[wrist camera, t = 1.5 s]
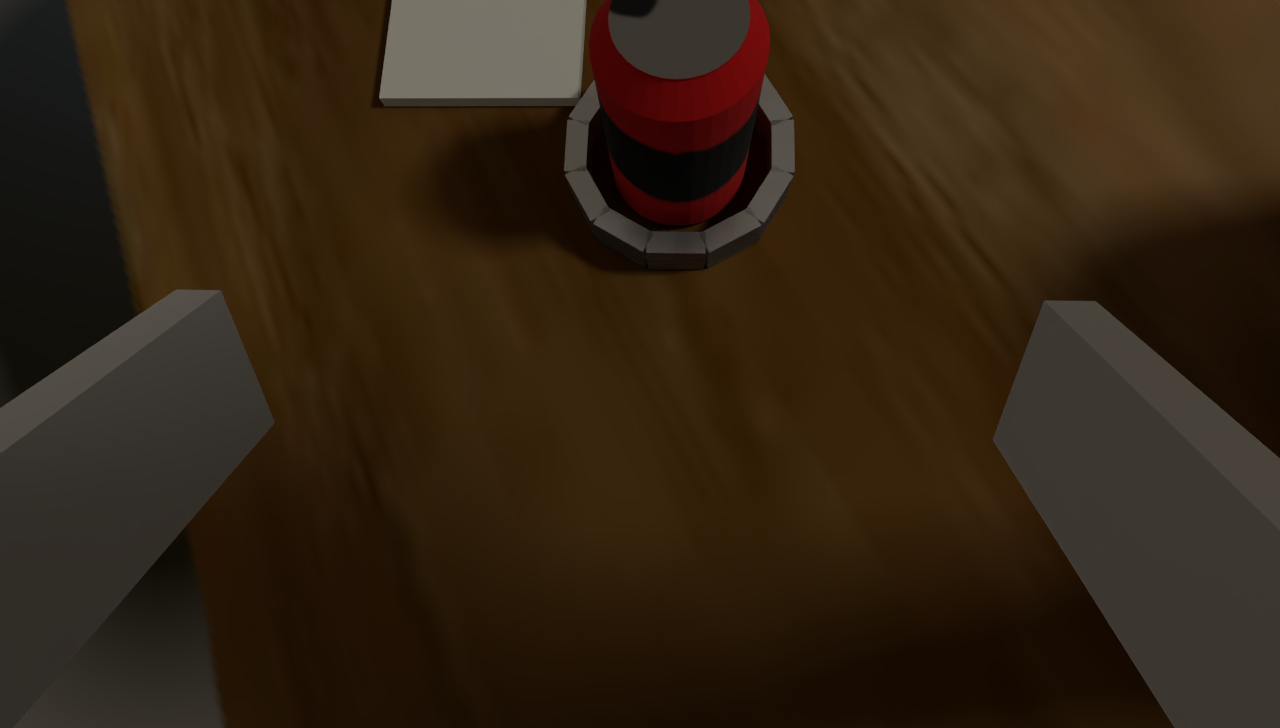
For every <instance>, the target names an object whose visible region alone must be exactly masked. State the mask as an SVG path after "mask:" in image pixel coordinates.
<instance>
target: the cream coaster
mask: <svg viewBox="0 0 1280 728" xmlns="http://www.w3.org/2000/svg"><path fill="white" fill-rule="evenodd" d="M585 16H586V0H392V5H391V13H390V20H389V28H388V35H387V43H386V50H385V58H384V65H383V73H382V80H381V88H380V95H379V99H380V100H381V102H382V103H383V104H384V106H576V105H577V104H578V102H579V101H580V96H581V80H582V64H583V48H584V32H585Z"/></svg>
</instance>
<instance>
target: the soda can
mask: <svg viewBox="0 0 1280 728" xmlns="http://www.w3.org/2000/svg"><path fill="white" fill-rule="evenodd" d="M769 46H770V34H769V25H768V22H767V19H766V16H765V13H764V11H763V9H762V7H761V5H760V4H759V2H758V1H757V0H605V1H604V2H603V4H602V5H601V7H600V8H599V10H598V11H597V14H596V16H595V19H594V21H593V24H592V27H591V33H590V39H589V50H590V60H591V65H592V70H593V75H594V80H595V85H596V90H597V95H598V100H599V105H600V110H601V115H602V120H603V125H604V130H605V135H606V140H607V145H608V150H609V155H610V160H611V165H612V170H613V175H614V179H615V182H616V186H617V188H618V190H619V192H620V194H621V196H622V198H623V199H624V200H625V201H626V203H627V204H628V205H629V206H630V207H631V208H632V209H633V210H634V211H636V212H637V213H638V214H639V215H641V216H643V217H645V218H647V219H649V220H651V221H653V222H657V223H660V224H663V225H672V226H683V225H692V224H695V223H699V222H703V221H705V220H707V219H709V218H711V217H713V216H715V215H716V214H718V213H719V212H720V211H722V210H723V209H724V208H726V206H727V205H728V204H729V203H730V202H731V201H732V200H733V199H734V197H735V195H736V194H737V192H738V190H739V189H740V186H741V183H742V180H743V177H744V173H745V168H746V163H747V158H748V153H749V148H750V144H751V139H752V134H753V129H754V124H755V119H756V114H757V109H758V104H759V99H760V95H761V90H762V85H763V80H764V75H765V70H766V65H767V60H768V55H769Z"/></svg>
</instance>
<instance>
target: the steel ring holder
mask: <svg viewBox="0 0 1280 728" xmlns="http://www.w3.org/2000/svg"><path fill="white" fill-rule="evenodd" d="M792 117H793V116H792V114H791V113H790V111H789V110H788V108H787V107H786V105H785V104H784V102H783V101H782V99H781V98H780V96H779V95H778V93H777V92H776V90H775V89H774V87H773V86H772V84H771V83H770V81H769V80H768V78H767V77H766V75H764V80H763V85H762V90H761V95H760V99H759V104H758V109H757V114H756V119H755V124H754V130H755V131H756V133H757V134H758V136H759V137H760V139H761V140H762V142H763V144H764V145H765V147H766V178H765V180H764V182H763V183H762V185H761V186H760V188H759V190H758V191H757V193H756V194H755V196H754V197H753V199H752V201H751V202H750V204H749V205H748V207H747V209H745V210H743V211H741V212H739V213H737V214H735V215H733V216H731V217H730V218H728V219H726V220H724V221H722V222H720V223H718V224H716V225H714V226H712V227H710V228H709V229H707V230H705V231H703V232H657V231H649V230H648V229H646V228H644V227H642V226H640V225H639V224H637V223H635V222H633V221H632V220H630V219H628V218H626V217H624V216H623V215H621V214H619V213H617V212H616V211H614V210H612V209H610V208H609V207H608V206H607V204H606V202H605V200H604V199H603V197H602V195H601V193H600V192H599V190H598V188H597V186H596V184H595V183H594V181H593V179H592V177H593V159H594V146H595V145H596V143H597V142H598V140H599V139H600V137H601V136H602V134H603V133H604V132H605V130H604V125H603V120H602V115H601V110H600V105H599V100H598V95H597V90H596V85H595V80H594V81H593V82H592V84H591V85H590V87H589V88H588V89H587V91H586V92H585V94H584V95H583V97H582V98H581V99H580V101H579V102H578V104H577V105H576V107H575V108H574V109H573V111H572V112H571V114H570V115H569V120H567V133H566V148H565V163H564V173H565V177H566V180H567V182H568V185H569V188H570V191H571V194H572V196H573V198H574V200H575V202H576V203H577V205H578V207H579V209H580V211H581V212H582V214H583V216H584V218H585V220H586V221H587V223H588V225H589V227H590V229H591V230H592V232H593V234H594V236H595V238H596V239H597V238H598V241H599V242H601V243H602V244H604V245H606V246H608V247H609V248H611V249H613V250H615V251H616V252H618V253H620V254H622V255H623V256H625V257H627V258H629V259H630V260H632V261H634V262H635V263H637V264H639V265H641V266H642V267H644V268H645V266H646V265H647V263H648V269H699V270H704V264H705V265H706V267H707V269H708V268H710V267H712V266H713V265H715V264H717V263H719V262H721V261H723V260H725V259H727V258H729V257H731V256H732V255H734V254H736V253H738V252H740V251H742V250H744V249H746V248H748V247H750V246H751V245H753V244H755V243H756V241H757V240H758V241H759V239H760V238H761V236H762V234H763V233H764V231H765V230H766V228H767V226H768V225H769V223H770V222H771V220H772V218H773V217H774V215H775V214H776V212H777V210H778V209H779V207H780V206H781V204H782V202H783V201H784V199H785V198H786V196H787V193H788V190H789V187H790V184H791V182H792V179H793V175H794V173H795V163H794V120H792Z"/></svg>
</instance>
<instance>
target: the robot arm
mask: <svg viewBox="0 0 1280 728" xmlns="http://www.w3.org/2000/svg"><path fill="white" fill-rule="evenodd" d="M274 423H275V421H274V419H273V416H272V414H271V412H270V409H269V407H268V404H267V402H266V399H265V397H264V395H263V392H262V390H261V387H260V385H259V382H258V380H257V378H256V375H255V373H254V370H253V368H252V365H251V363H250V361H249V358H248V356H247V353H246V351H245V348H244V346H243V343H242V341H241V339H240V336H239V334H238V331H237V329H236V326H235V324H234V322H233V319H232V317H231V314H230V312H229V309H228V307H227V305H226V302H225V300H224V297H223V295H222V292H221V290H175V291H173V292H172V293H170V294H169V295H167V296H166V297H165V298H163V299H162V300H160V301H159V302H157V303H156V304H154V305H153V306H151V307H150V308H148V309H147V310H145V311H144V312H142V313H141V314H139V315H138V316H136V317H135V318H133V319H132V320H131V321H129V322H127V323H126V324H124V325H123V326H122V327H120V328H119V329H117V330H116V331H114V332H113V333H111V334H110V335H108V336H107V337H105V338H104V339H102V340H101V341H99V342H98V343H97V344H95V345H93V346H92V347H90V348H89V349H88V350H86V351H85V352H83V353H81V354H80V355H79V356H77V357H76V358H74V359H73V360H71V361H70V362H68V363H67V364H65V365H64V366H62V367H61V368H59V369H58V370H56V371H55V372H53V373H52V374H50V375H49V376H47V377H46V378H44V379H43V380H41V381H40V382H39V383H37V384H36V385H34V386H33V387H31V388H30V389H28V390H27V391H25V392H24V393H22V394H21V395H20V396H18V397H16V398H15V399H13V400H12V401H10V402H9V403H7V404H6V405H5V406H3V407H1V408H0V728H13V727H14V725H15V724H16V723H17V722H18V721H19V720H20V719H21V717H22V716H23V715H24V714H25V712H27V710H28V709H29V708H30V707H31V706H32V705H33V703H34V702H35V701H36V700H37V699H38V697H39V696H40V695H41V694H42V693H43V692H44V691H45V690H46V688H47V687H48V686H49V685H50V684H51V683H52V681H53V680H54V679H55V678H56V677H57V675H58V674H59V673H60V672H61V671H62V670H63V669H64V667H65V666H66V665H67V664H68V663H69V662H70V660H71V659H72V658H73V657H74V656H75V655H76V653H77V652H78V651H79V650H80V649H81V648H82V646H83V645H84V644H85V643H86V642H87V641H88V639H89V638H90V637H91V636H92V635H93V634H94V632H95V631H96V630H97V629H98V628H99V627H100V626H101V624H102V623H103V622H104V621H105V620H106V619H107V617H108V616H109V615H110V614H111V613H112V612H113V610H114V609H115V608H116V607H117V606H118V605H119V603H120V602H121V601H122V599H124V598H125V596H126V595H127V594H128V593H129V592H130V591H131V589H132V588H133V587H134V586H135V585H136V583H137V582H138V581H139V580H140V579H141V578H142V577H143V575H144V574H145V573H146V572H147V571H148V570H149V568H150V567H151V566H152V565H153V564H154V563H155V562H156V560H157V559H158V558H159V557H160V556H161V555H162V553H163V552H164V551H165V550H166V548H168V546H169V545H170V544H171V543H172V542H173V541H174V539H175V538H176V537H177V536H178V535H179V534H180V532H181V531H182V530H183V529H184V528H185V527H186V525H187V524H188V523H189V522H190V521H191V520H192V518H193V517H194V516H195V515H196V514H197V513H198V511H199V510H200V509H201V508H202V507H203V506H204V505H205V503H206V502H207V501H208V500H209V499H210V498H211V496H212V495H213V494H214V493H215V492H216V491H217V489H218V488H219V487H220V486H221V485H222V484H223V482H224V481H225V480H226V479H227V478H228V477H229V475H230V474H231V473H232V472H233V471H234V470H235V468H236V467H237V466H238V465H239V464H240V463H241V461H242V460H243V459H244V458H245V457H246V456H247V454H248V453H249V452H250V451H251V450H252V449H253V447H254V446H255V445H256V444H257V443H258V442H259V441H260V439H261V438H262V437H263V436H264V435H265V434H266V432H267V431H268V430H269V429H270V428H271V427H272V425H273V424H274ZM993 441H994V443H995V444H996V446H997V447H998V449H999V450H1000V452H1001V454H1002V455H1003V457H1004V458H1005V460H1006V462H1007V463H1008V465H1009V466H1010V468H1011V469H1012V471H1013V473H1014V474H1015V476H1016V477H1017V479H1018V481H1019V482H1020V484H1021V485H1022V487H1023V489H1024V490H1025V492H1026V493H1027V495H1028V496H1029V498H1030V500H1031V501H1032V503H1033V504H1034V506H1035V508H1036V509H1037V511H1038V512H1039V514H1040V515H1041V517H1042V519H1043V520H1044V522H1045V523H1046V525H1047V527H1048V528H1049V530H1050V531H1051V533H1052V534H1053V536H1054V538H1055V539H1056V541H1057V542H1058V544H1059V546H1060V547H1061V549H1062V550H1063V552H1064V554H1065V555H1066V557H1067V558H1068V560H1069V561H1070V563H1071V565H1072V566H1073V568H1074V569H1075V571H1076V573H1077V574H1078V576H1079V577H1080V579H1081V580H1082V582H1083V584H1084V585H1085V587H1086V588H1087V590H1088V592H1089V593H1090V595H1091V596H1092V598H1093V599H1094V601H1095V603H1096V604H1097V606H1098V607H1099V609H1100V611H1101V612H1102V614H1103V615H1104V617H1105V619H1106V620H1107V622H1108V623H1109V625H1110V626H1111V628H1112V630H1113V631H1114V633H1115V634H1116V636H1117V638H1118V639H1119V641H1120V642H1121V644H1122V645H1123V647H1124V649H1125V650H1126V652H1127V653H1128V655H1129V657H1130V658H1131V660H1132V661H1133V663H1134V664H1135V666H1136V668H1137V669H1138V671H1139V672H1140V674H1141V676H1142V677H1143V679H1144V680H1145V682H1146V684H1147V685H1148V687H1149V688H1150V690H1151V691H1152V693H1153V695H1154V696H1155V698H1156V699H1157V701H1158V703H1159V704H1160V706H1161V707H1162V709H1163V710H1164V712H1165V714H1166V715H1167V717H1168V718H1169V720H1170V722H1171V723H1172V725H1173V726H1174V728H1280V458H1279V457H1278V456H1276V455H1275V454H1274V453H1273V452H1272V451H1271V450H1269V449H1268V448H1267V447H1266V446H1265V445H1264V444H1262V443H1261V442H1260V441H1259V440H1258V439H1257V438H1255V437H1254V436H1253V435H1252V434H1251V433H1249V432H1248V431H1247V430H1246V429H1245V428H1244V427H1242V426H1241V425H1240V424H1239V423H1238V422H1237V421H1235V420H1234V419H1233V418H1232V417H1231V416H1230V415H1228V414H1227V413H1226V412H1225V411H1224V410H1223V409H1221V408H1220V407H1219V406H1218V405H1217V404H1216V403H1214V402H1213V401H1212V400H1211V399H1210V398H1209V397H1207V396H1206V395H1205V394H1204V393H1203V392H1202V391H1200V390H1199V389H1198V388H1197V387H1196V386H1194V385H1193V384H1192V383H1191V382H1190V381H1189V380H1187V379H1186V378H1185V377H1184V376H1183V375H1182V374H1180V373H1179V372H1178V371H1177V370H1176V369H1175V368H1173V367H1172V366H1171V365H1170V364H1169V363H1168V362H1166V361H1165V360H1164V359H1163V358H1162V357H1161V356H1159V355H1158V354H1157V353H1156V352H1155V351H1154V350H1152V349H1151V348H1150V347H1149V346H1148V345H1147V344H1145V343H1144V342H1143V341H1142V340H1141V339H1139V338H1138V337H1137V336H1136V335H1135V334H1134V333H1132V332H1131V331H1130V330H1129V329H1128V328H1127V327H1125V326H1124V325H1123V324H1122V323H1121V322H1120V321H1118V320H1117V319H1116V318H1115V317H1114V316H1113V315H1111V314H1110V313H1109V312H1108V311H1107V310H1106V309H1104V308H1103V307H1102V306H1101V305H1100V304H1099V303H1097V302H1096V301H1044V302H1043V305H1042V307H1041V310H1040V313H1039V315H1038V318H1037V321H1036V324H1035V326H1034V329H1033V332H1032V334H1031V337H1030V340H1029V343H1028V345H1027V348H1026V351H1025V353H1024V356H1023V359H1022V362H1021V364H1020V367H1019V370H1018V372H1017V375H1016V378H1015V381H1014V383H1013V386H1012V389H1011V391H1010V394H1009V397H1008V400H1007V402H1006V405H1005V408H1004V410H1003V413H1002V416H1001V419H1000V421H999V424H998V427H997V429H996V432H995V435H994V438H993Z"/></svg>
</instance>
